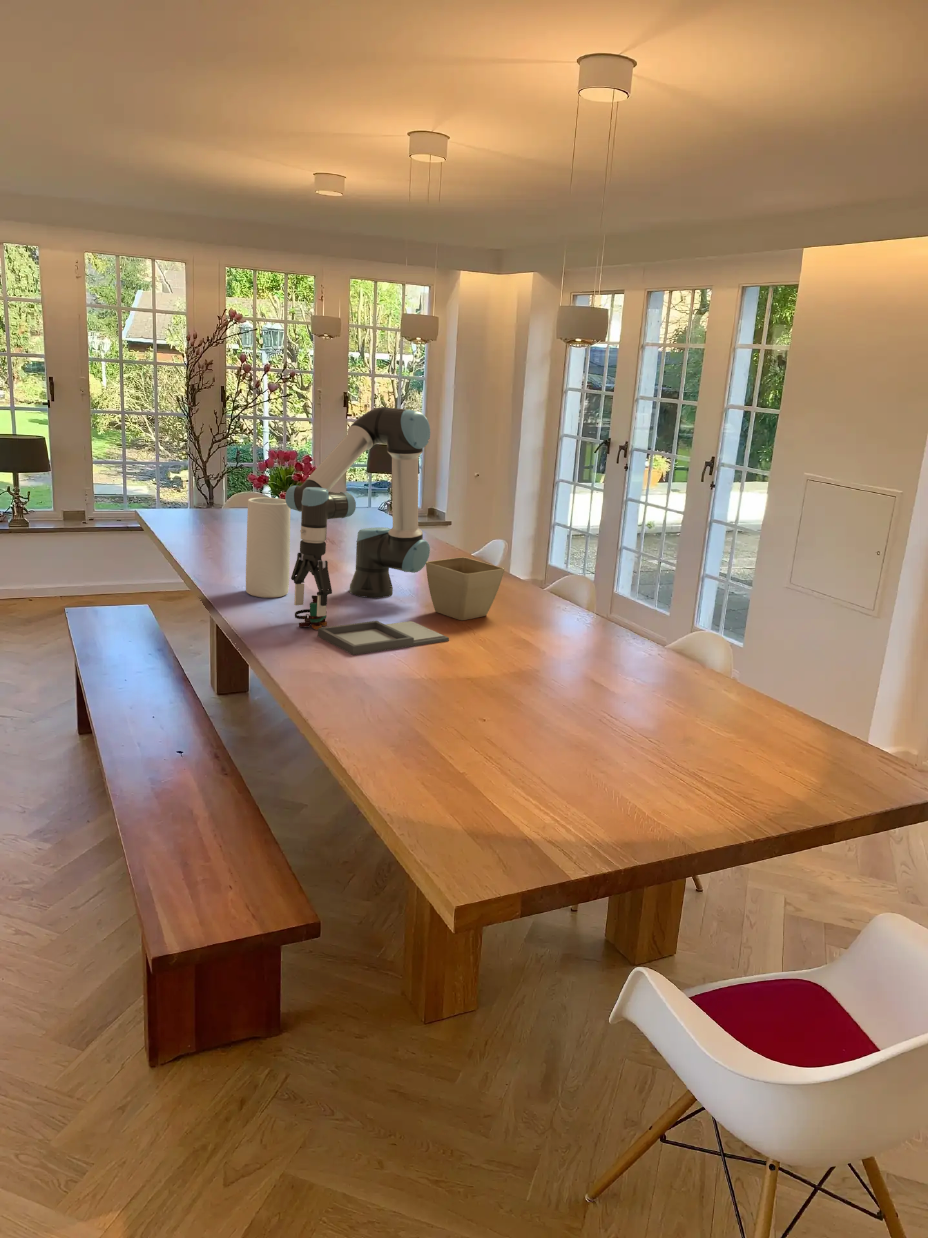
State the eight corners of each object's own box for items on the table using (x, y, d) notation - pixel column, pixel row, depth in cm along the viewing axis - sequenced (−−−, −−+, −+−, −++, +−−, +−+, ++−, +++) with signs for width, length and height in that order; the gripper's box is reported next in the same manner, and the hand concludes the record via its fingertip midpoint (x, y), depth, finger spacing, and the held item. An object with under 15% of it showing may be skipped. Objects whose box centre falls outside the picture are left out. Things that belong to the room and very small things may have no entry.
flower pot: (501, 617, 302) (506, 567, 298) (462, 625, 289) (466, 573, 284) (460, 604, 315) (464, 556, 310) (420, 611, 301) (424, 561, 296)
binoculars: (299, 589, 277) (330, 590, 275) (301, 623, 279) (332, 624, 277) (288, 595, 268) (320, 596, 266) (290, 630, 271) (322, 631, 269)
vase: (296, 592, 312) (299, 500, 304) (274, 600, 299) (277, 505, 290) (259, 586, 316) (261, 495, 308) (237, 594, 303) (238, 500, 295)
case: (411, 624, 285) (411, 616, 284) (448, 640, 271) (449, 632, 270) (317, 636, 264) (318, 628, 264) (353, 655, 250) (353, 646, 249)
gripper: (281, 533, 274) (279, 601, 279) (323, 549, 256) (319, 621, 261) (303, 532, 279) (300, 599, 284) (346, 548, 260) (342, 619, 266)
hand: (309, 610), depth 272 cm, fingers open, 13 cm apart
